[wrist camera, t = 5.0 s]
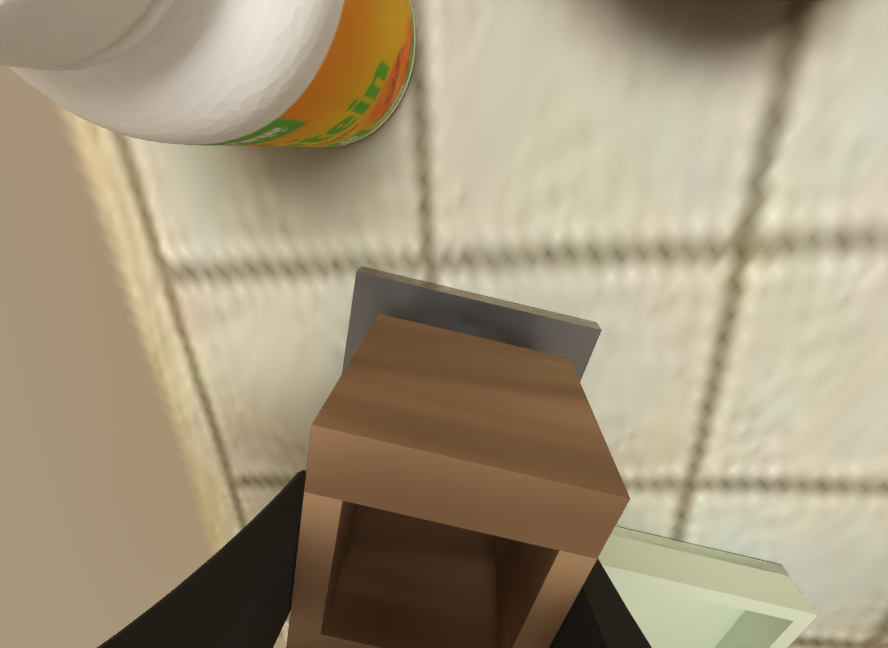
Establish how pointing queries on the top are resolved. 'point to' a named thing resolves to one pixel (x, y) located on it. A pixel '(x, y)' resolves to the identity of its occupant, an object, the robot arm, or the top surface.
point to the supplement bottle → (217, 66)
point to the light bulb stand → (466, 317)
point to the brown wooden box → (449, 496)
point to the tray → (703, 594)
